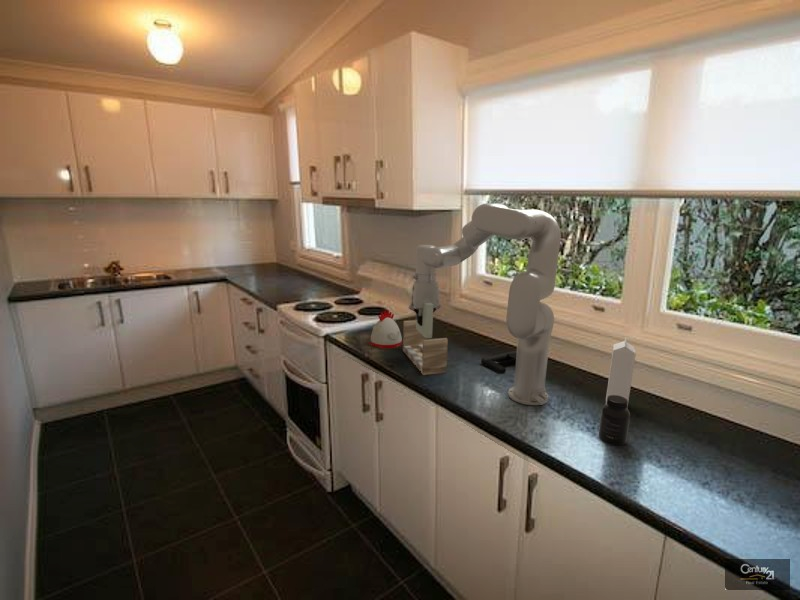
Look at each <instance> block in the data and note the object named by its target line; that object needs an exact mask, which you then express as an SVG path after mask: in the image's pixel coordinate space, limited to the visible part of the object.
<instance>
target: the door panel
mask: <svg viewBox="0 0 800 600" xmlns="http://www.w3.org/2000/svg"><path fill="white" fill-rule="evenodd" d="M416 309H417V308H416ZM422 316H423V319H422V326H420V325H419V324H418V323H417V314H416V313H415V320H416V330H418V331H419V332H420V333H421V334H422V335H423V336H424V337H425V339H433V327H434V326H433V325H434V324H433V323H434V313H433V304H432V303H424V308H423V309H422Z"/></svg>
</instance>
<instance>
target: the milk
mask: <svg viewBox="0 0 800 600" xmlns="http://www.w3.org/2000/svg"><path fill="white" fill-rule="evenodd" d="M636 352H637V351H636V348H635V347H634V346H633V345H632V344H630V343H629V342H627V336H625V338H624V340H623V341H620V342H616V343H614V344H613V346H612V352H611V353H612V354H611V359H610V367H609V373H608V374H609V375H608V381H607V382H608V383H607V387H606V394H605V395H606V396H605V405H606V404H607V398H608V396H610V395H618V396H621V397H624V398H626V399H627V401H628V403H627V408H628V406H629V405H628V404H629V402H630V401H629V400H630V399H629V398H630V393H631V387H632V380H633V374H634V367H635V361H636V355H637V353H636Z"/></svg>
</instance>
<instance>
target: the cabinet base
mask: <svg viewBox="0 0 800 600" xmlns="http://www.w3.org/2000/svg"><path fill="white" fill-rule="evenodd" d="M402 326H403V328H402V329H403V331H402V332H403V333H402V335H403V336H402V338H403V339H402V352H404V354H406V357H408V358H409V360H410V361H411V362H412V363H413V364H414V366H415V365H416V366H415V367H416V368H417V369H418V370H419V372H420V371H421V372H420V373H421V374H422V376H427V375H434V374H435V375H436V374H445V373H447V367H448V366H447V365H448V363H447V362H448V345H449V344H448V342H449V339H448V338H447V337H440V338H425V337H424V336H423V335H422V334H421V333H420V332H419V331H418V330H416V319H413V320H403V325H402Z"/></svg>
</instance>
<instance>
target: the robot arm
mask: <svg viewBox="0 0 800 600" xmlns="http://www.w3.org/2000/svg"><path fill="white" fill-rule="evenodd" d="M461 234H462V237H461V238H460V239H459V240H458V241H456V242H454V243H453V244H451V245H444V246H436V245H433V244H419V245H417V247H416V257H415V259H416V260H415V262H416V263H415V274H412V275H411V277H412V278H411V279H413V285H412V290H411V300H410V301H411V302H410V304H409V306H408V309H409V310H410V311H412V312H414V313H415V315H416V314H417V323H418V324H419V325H420V326H422V319H423V316H422V309H423V308H424V303H432V304H433V314H435V312H436V311H437V310H439V309H441V304H440V289H439V282H438V281H437V280H436V279H437V278H436V277H437V269H441V268H442V269H443V268H448V267H453V266H457V265H459V264H460V263H461V264H462V263H463V262H465V260H467V259H468V258H470V257H471V256H473V255H474V254H475V253H476V251H477V250H478V249H479V247H480V246H482V245H483V244H484V243H486V242H487V241H488V240H490V239H492V238H493V237H495V236H498V237H502V238H507V239H512V240H523V239H525V240H526V239H532V244H531V245H530V249H529V251H528V258H527V259H528V260H527V266H526V270H525V271H521V272H520V273H518V274H516V275H515V276H514V278H512V281H511V283H510V287H509V290H508V298H507V299H508V301H507V308H506V309H507V310H506V327H507V330H508V332H509V333H510V334H511V336H512V337H514V338H515V339H518V340H517V344H516V345H517V346H516V350H517V354H516V365H514V366H515V369H514V379H513V386H512V387H510V388H509V389H508V392H507V394H508V397H510V399H511V400H512V401H514V402H517V403H519V404H521V405H522V404H523V405H527V406H540V405H541V406H542V405H545V404H546V403H547V402H548V401H549V400H550V398H549V394H548V392H546V390H547V389H546V388H545V387H546V377H547V368H548V367H547V366H548V358H549V357H548V356H549V349H550V340H551V337H552V333H553V328H554V324H555V315H554V311H553V310H552V308H551V307H550V306H549V305H548V304H547V303H545V302H541V300H544V299H546V298H548V297H550V296H552V294H553V292H554V290H555V288H556V287H555V286H556V281H557V271H558V261H559V260H558V259H559V253H560V247H561V240H562V239H561V237H562V236H561V235H562V234H561V229H560V225H559V223H558V221H557V220H556V219H555V218H554V216H552V215H551V214H550V213H548V212H546V211H545V210H541V209H536V208H535V209H534V208H533V209H532V208H531V209H516V208H510V207H508V206H507V205H505V204H503V203H482V204H480V205H478V206H477V207H476V208H475V209H474V211H473V212H472V215H471V220H470V221H469V222H467V223H466V224H465V225H463V227H462V229H461ZM416 308H417V309H416Z"/></svg>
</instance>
